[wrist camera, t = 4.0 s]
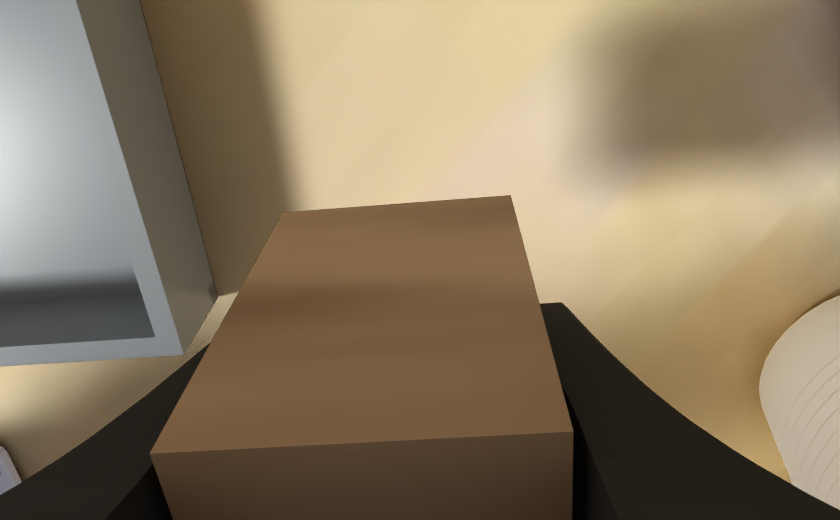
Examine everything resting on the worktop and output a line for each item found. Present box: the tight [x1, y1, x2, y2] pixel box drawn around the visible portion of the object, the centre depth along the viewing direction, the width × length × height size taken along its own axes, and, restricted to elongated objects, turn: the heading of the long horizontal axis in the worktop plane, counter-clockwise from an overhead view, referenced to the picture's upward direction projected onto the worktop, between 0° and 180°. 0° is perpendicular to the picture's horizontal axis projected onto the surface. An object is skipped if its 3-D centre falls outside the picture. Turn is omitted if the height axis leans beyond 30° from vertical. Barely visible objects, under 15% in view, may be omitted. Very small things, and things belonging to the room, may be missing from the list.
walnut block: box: [150, 195, 573, 520], centre depth 10 cm, size 4×4×6 cm
